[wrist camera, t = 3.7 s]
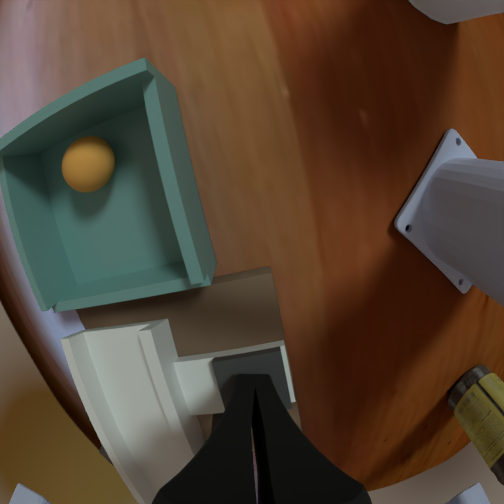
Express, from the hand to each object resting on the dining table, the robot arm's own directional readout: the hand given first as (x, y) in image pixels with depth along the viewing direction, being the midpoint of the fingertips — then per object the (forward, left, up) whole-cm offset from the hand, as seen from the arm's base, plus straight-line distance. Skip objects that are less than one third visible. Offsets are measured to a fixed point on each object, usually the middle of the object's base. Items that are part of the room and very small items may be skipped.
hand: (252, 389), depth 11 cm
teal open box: (+11, -2, -6) cm, 13 cm away
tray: (-1, +6, -2) cm, 7 cm away
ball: (+12, -4, -4) cm, 14 cm away
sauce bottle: (-26, -3, -7) cm, 27 cm away
